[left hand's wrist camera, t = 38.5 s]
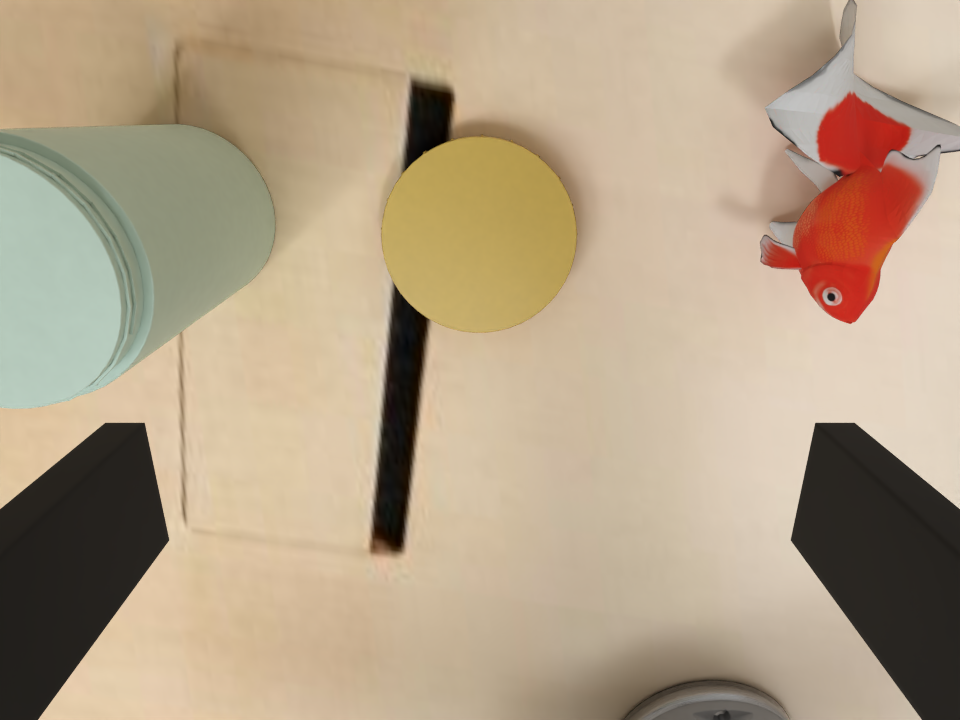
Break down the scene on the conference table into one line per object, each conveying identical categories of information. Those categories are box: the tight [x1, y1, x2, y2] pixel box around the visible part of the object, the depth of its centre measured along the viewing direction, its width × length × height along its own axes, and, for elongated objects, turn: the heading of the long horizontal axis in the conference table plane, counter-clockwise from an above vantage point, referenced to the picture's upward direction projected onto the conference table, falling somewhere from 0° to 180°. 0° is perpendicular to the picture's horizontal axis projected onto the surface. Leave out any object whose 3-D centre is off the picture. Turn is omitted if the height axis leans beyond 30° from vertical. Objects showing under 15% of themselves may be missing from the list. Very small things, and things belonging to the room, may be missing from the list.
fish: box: [760, 0, 960, 324], centre depth 33 cm, size 11×16×10 cm
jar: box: [0, 124, 275, 409], centre depth 30 cm, size 10×10×17 cm
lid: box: [381, 134, 577, 333], centre depth 38 cm, size 11×11×2 cm
